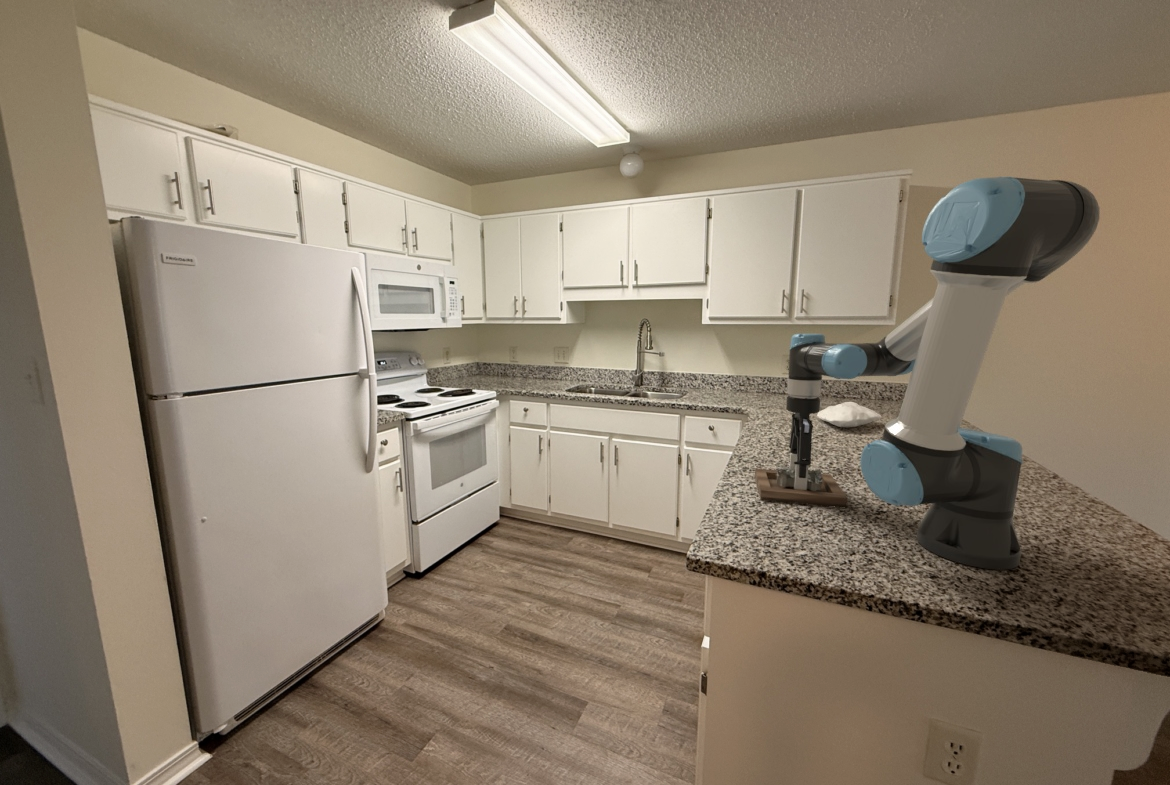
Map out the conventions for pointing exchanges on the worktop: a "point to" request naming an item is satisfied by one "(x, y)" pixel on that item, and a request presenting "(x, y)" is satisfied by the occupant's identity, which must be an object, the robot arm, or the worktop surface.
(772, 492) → the pocket board
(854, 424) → the crumpled cloth
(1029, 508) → the worktop surface
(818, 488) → the egg carton
